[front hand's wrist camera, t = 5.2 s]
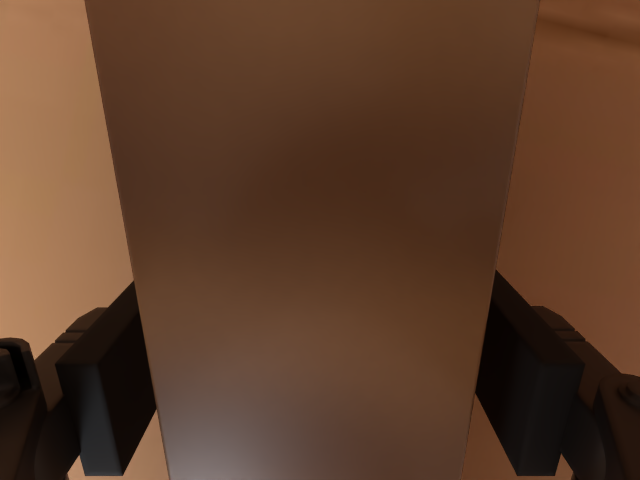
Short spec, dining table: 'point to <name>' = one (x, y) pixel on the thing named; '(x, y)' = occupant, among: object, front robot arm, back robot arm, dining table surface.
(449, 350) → the beam
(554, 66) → the dining table surface
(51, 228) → the dining table surface
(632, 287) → the dining table surface
